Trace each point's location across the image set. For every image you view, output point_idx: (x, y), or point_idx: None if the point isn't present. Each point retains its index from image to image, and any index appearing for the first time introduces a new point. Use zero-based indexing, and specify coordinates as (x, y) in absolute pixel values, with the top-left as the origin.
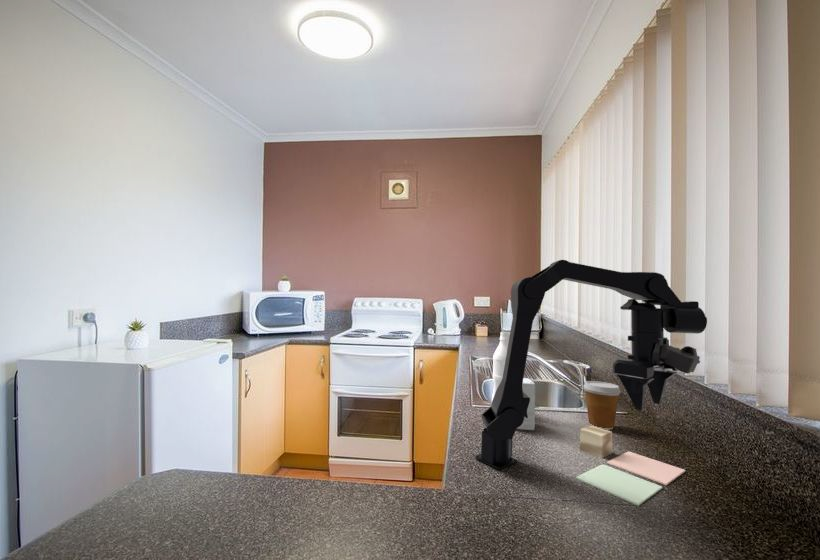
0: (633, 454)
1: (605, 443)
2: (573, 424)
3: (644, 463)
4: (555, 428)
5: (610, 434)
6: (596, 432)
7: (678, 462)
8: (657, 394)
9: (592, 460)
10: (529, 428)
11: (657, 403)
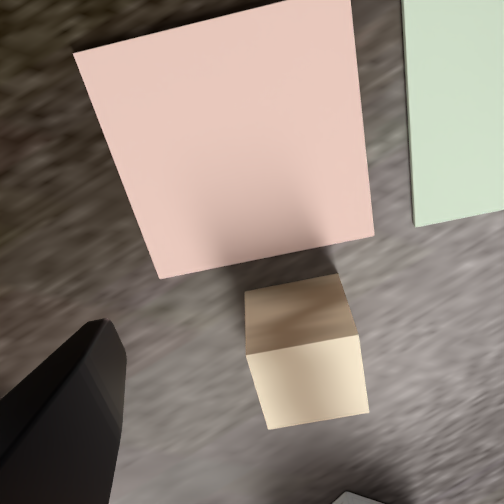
0: (171, 250)
1: (313, 312)
2: (130, 499)
3: (218, 172)
4: (242, 488)
5: (263, 344)
6: (337, 368)
7: (4, 134)
8: (87, 409)
9: (400, 269)
10: (363, 500)
11: (113, 330)
